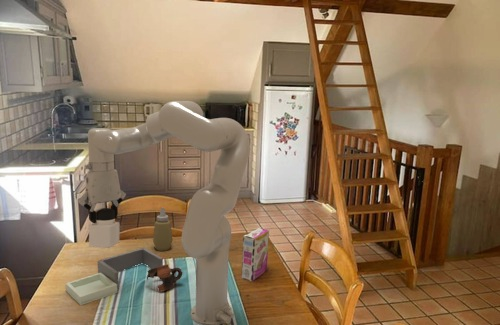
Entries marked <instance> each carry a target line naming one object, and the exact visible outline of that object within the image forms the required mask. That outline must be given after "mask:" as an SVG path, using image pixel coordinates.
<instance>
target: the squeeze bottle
mask: <svg viewBox="0 0 500 325" xmlns="http://www.w3.org/2000/svg"><path fill="white" fill-rule="evenodd" d="M172 232H173V231H172V223H171V220H169V215H167V214H166V211H165V208H164V207H160V211H159V214H158V215H157V216H156V221H155V222H154V227H153V237H152V238H153V239H152V242H153V245H154V248H155V250H156V251H159V252H165V251H168V250H170V249H171V246H172V244H173V241H174V240H173V233H172Z"/></svg>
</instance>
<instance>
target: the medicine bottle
mask: <svg viewBox="0 0 500 325" xmlns="http://www.w3.org/2000/svg"><path fill="white" fill-rule="evenodd" d="M95 211H96V223H92V224H89V226H88V229H89V231H88V232H89V233H88V238H89V240H88V247H90V248H101V249H102V248H103V249H110V248H112V247H114V246H116V245H117V244H119V243H120V227H121V226H120V223H121V222H120V221H115V219H114V218H115V211H114V210H113V209H111V207H100V208H98V209H96V210H95Z"/></svg>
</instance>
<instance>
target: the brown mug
mask: <svg viewBox="0 0 500 325" xmlns="http://www.w3.org/2000/svg"><path fill="white" fill-rule="evenodd" d="M177 272H178V274H177V275H175V274H176V273H177ZM183 273H184V272H183V271H182V269H181V268H180V267H174V268H171V267H169V264H163V266H160V267H157V268H153V269H150V268H149V269H148V270H147V275H146V280H149V279H150V278H151V279H154V278H155V277H158V278H159V280H160V281H161V282H162V283H161V284H159V285H158V284H157V287H156V288H157V290H158V293H161V292H164V291H169V290H173V289H174V287H175V285H176V283H177V281H180V280H181V278H182V277H183ZM174 284H175V285H174Z"/></svg>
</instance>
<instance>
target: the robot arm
mask: <svg viewBox="0 0 500 325" xmlns="http://www.w3.org/2000/svg"><path fill="white" fill-rule="evenodd" d="M171 138H176V139H178V140H180V141H183V143H186V144H187V145H189V146H191V147H193V148H196V149H197V150H199V151H202V152H208V153H210V152H215V151H219V150H220V154H219V156H218V157H217V160H216V162H215V165H214V166H213V171H212V172H213V173H212V174H211V175H212V176H211V178H210V181H209V183H208V184H207V185H206V186H204V187H201V188H200V189H198V190H197V191H196V192H195V193H194V194H193V196H192V197H191V199H190V202H189V205H188V208H187V212H186V215H185V220H184V223H183V228H182V232H181V245H182V248H183V251H184V252H185V254H186V255H188V256H189V257H191V258H193V259H196V261H195V263H196V264H195V305H194V306H193V307H192V308H191V311H190V317H191V320H192V321H194V323H197V324H199V325H221V324H224V323H225V324H227V325H229V324H230V323H231V322H232V318H234V317H235V313H234V312H233V310H232V307H231V306H230V304H229V303H228V291H229V290H228V288H229V287H228V286H229V285H228V283H229V282H228V281H229V280H228V279H229V278H228V277H229V276H228V275H229V255H230V246H231V241H232V240H231V239H232V226H231V223H230V220H228V218H227V217H226V215H227V214H229V213H230V212H232V211H233V210H234V208H235V207H236V206H237V202H238V197H239V193H240V191H241V187H242V183H243V181H244V175H245V171H246V168H247V164H248V161H249V156H250V150H251V147H250V146H251V145H250V139H249V135H248V133H247V131H246V129H245V128H244V127H243V126H242V124H241V123H240V122H238V121H236V120H235V119H232V118H228V117H218V118H211V119H210V118H206V117H204V111H203V108H202V107H201V106H200V105H199V104H197V102H195V101H191V100H172V101H168V102H167V103H165V104H164V105H163V106H162V107H161V108H160V109H159V110H158V111H155V112H154V113H151V114H149V115H148V116H147V117H146V120H145V122H144V123H142V124H139V125H136V126H134V127H127V128H119V129H110V128H107V127H106V128H104V127H103V128H102V127H93V128H90V129H89V130H88V132H87V143H88V144H87V146H88V162H87V164H85V165H84V169H85V170H88V171H87V173H86V179H85V192H84V193H83V194H82V196H80V198H78V200H77V202H78V203H79V204H80V205H81V206H82V207H84V208H85V209H86V210H88V220H89V221H90V222H91V223H92V224H94V223H96V210H95V209H96V206H97V204H102V203H108V202H110V203H111V205H110V208H111V209H113V210H114V211H115V218H114V220H117V218H118V215H119V214H118V213H119V212H118V210H119V209H118V208H119V207H120V204H121V203H122V202H123V200H124V199H125V197H126V196H127V193H126V192H124V191H123V190H122V189H121V185H120V178H119V174H118V170H117V169H115V155H119V154H120V155H121V154H125V153H129V152H130V153H131V152H135V151H139V150H142V149H144V148H147V147H151V146H153V145H156V144H158V143H161V142H163V141H166V140H168V139H169V140H170V139H171ZM86 201H88V203H87V202H86Z"/></svg>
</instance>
